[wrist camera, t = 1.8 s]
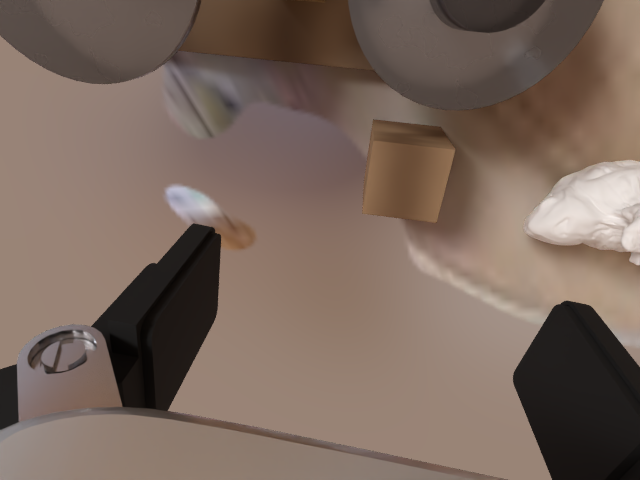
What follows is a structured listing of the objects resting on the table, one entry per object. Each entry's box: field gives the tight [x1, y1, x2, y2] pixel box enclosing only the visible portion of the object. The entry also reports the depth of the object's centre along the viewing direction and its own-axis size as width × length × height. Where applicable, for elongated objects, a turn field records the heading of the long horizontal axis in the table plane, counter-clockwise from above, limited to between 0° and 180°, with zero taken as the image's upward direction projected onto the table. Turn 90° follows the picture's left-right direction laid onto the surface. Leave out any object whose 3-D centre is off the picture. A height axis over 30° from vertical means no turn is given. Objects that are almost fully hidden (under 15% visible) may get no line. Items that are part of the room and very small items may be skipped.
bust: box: [523, 160, 640, 265], centre depth 25 cm, size 12×8×11 cm
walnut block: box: [362, 120, 455, 223], centre depth 28 cm, size 5×5×6 cm
